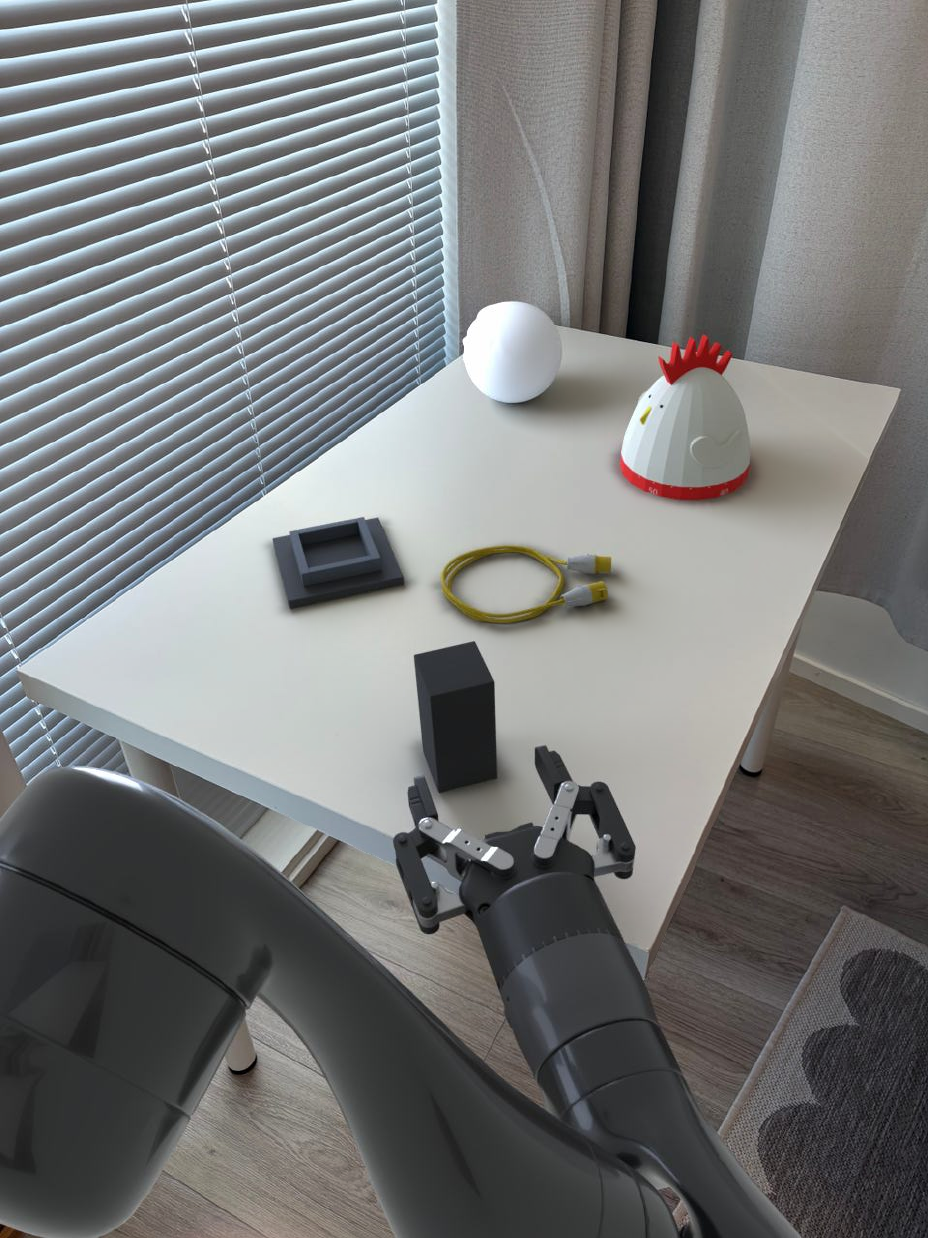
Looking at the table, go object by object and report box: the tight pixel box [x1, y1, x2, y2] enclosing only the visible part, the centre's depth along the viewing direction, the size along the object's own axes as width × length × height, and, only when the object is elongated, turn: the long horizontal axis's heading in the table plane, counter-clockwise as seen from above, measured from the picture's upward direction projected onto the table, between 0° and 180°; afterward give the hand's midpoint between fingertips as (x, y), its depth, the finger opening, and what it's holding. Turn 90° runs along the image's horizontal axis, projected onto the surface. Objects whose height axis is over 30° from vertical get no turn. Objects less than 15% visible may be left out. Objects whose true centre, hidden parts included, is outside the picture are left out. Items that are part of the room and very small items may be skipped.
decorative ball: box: [462, 300, 563, 404], centre depth 116 cm, size 12×12×12 cm
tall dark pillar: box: [413, 640, 498, 794], centre depth 69 cm, size 5×5×10 cm
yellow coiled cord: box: [440, 545, 612, 624], centre depth 89 cm, size 12×16×2 cm
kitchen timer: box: [619, 334, 751, 501], centre depth 100 cm, size 14×14×15 cm
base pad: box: [271, 516, 405, 610], centre depth 93 cm, size 11×11×2 cm
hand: (479, 769), depth 64 cm, fingers open, 8 cm apart
